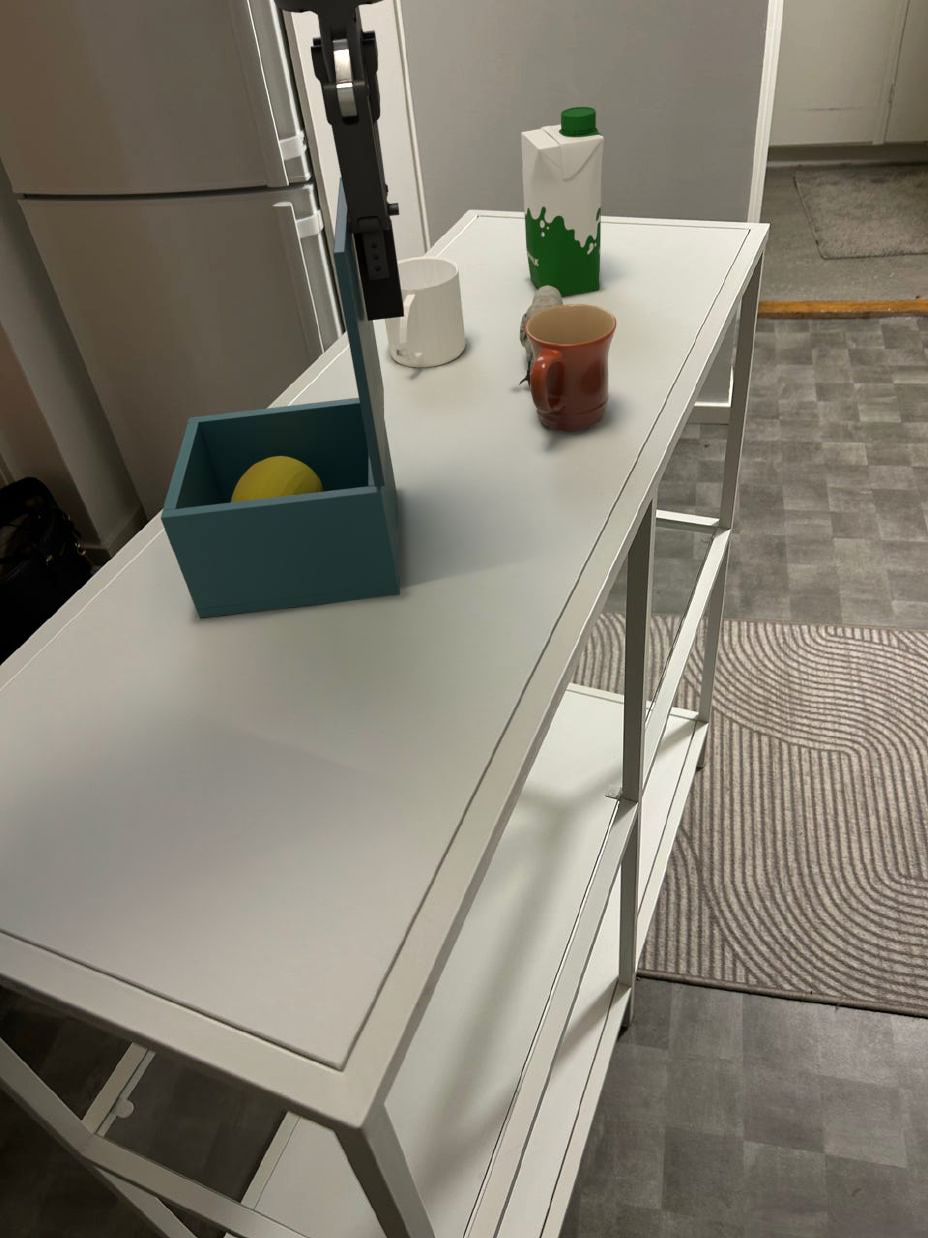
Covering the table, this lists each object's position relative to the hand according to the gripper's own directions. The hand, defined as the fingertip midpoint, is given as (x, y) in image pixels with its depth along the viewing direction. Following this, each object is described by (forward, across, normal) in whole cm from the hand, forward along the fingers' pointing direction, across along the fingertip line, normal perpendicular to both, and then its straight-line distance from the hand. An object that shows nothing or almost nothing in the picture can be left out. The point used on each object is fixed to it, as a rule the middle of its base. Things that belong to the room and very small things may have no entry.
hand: (385, 314), depth 69 cm
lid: (+1, 0, +2) cm, 3 cm away
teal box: (+21, 0, +10) cm, 24 cm away
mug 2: (+21, +16, -15) cm, 31 cm away
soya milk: (+21, +50, -20) cm, 58 cm away
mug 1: (+21, +35, -1) cm, 41 cm away
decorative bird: (+21, +31, -16) cm, 41 cm away
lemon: (+20, 0, +12) cm, 24 cm away
